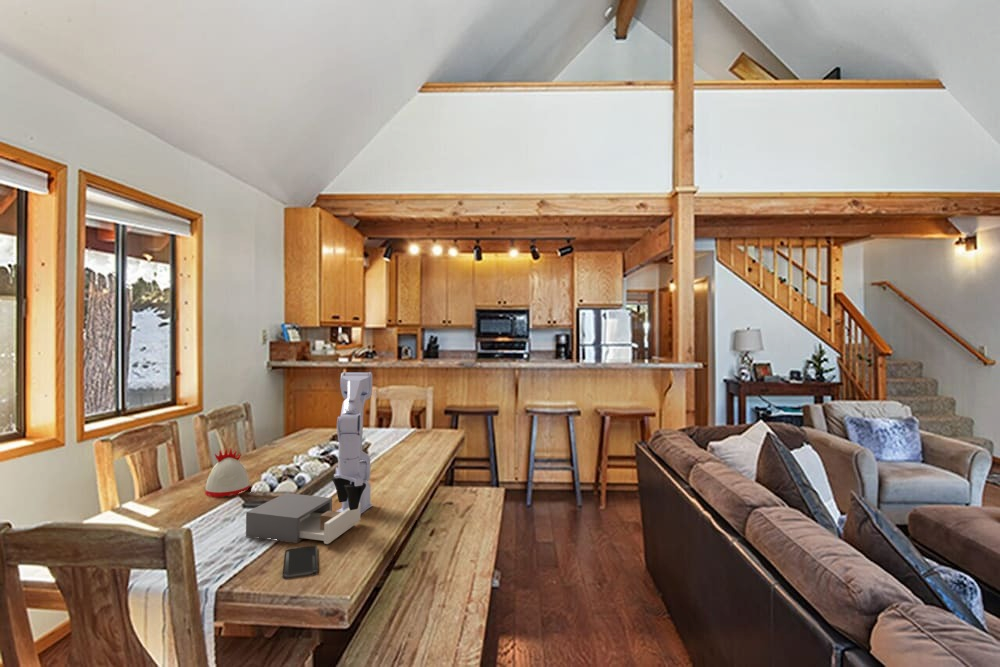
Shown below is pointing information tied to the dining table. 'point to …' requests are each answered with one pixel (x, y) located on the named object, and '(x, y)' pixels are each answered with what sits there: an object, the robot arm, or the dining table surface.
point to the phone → (300, 562)
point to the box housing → (284, 516)
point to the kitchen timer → (227, 476)
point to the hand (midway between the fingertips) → (348, 505)
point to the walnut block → (327, 517)
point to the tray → (328, 525)
